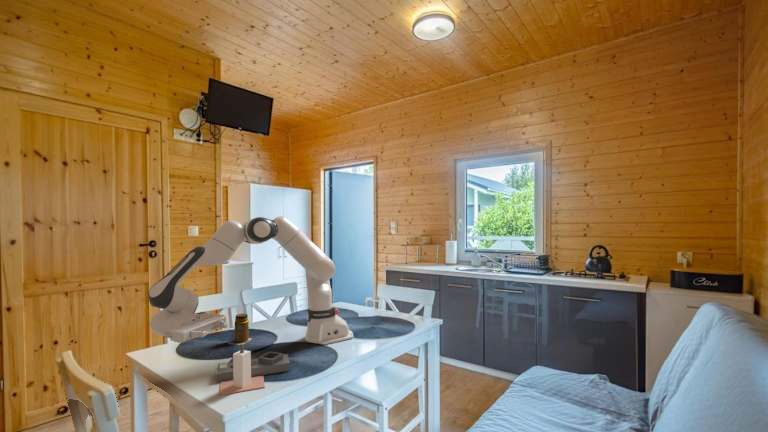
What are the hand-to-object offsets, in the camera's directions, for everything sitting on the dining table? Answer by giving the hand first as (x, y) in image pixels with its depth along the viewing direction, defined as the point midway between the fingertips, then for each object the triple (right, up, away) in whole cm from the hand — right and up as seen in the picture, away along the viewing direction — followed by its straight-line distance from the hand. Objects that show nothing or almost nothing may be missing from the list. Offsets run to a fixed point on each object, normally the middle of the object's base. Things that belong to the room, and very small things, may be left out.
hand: (216, 329), depth 129 cm
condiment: (-7, -18, +39) cm, 43 cm away
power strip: (+11, -18, +7) cm, 22 cm away
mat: (+11, -18, -4) cm, 21 cm away
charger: (+11, -17, -4) cm, 21 cm away
